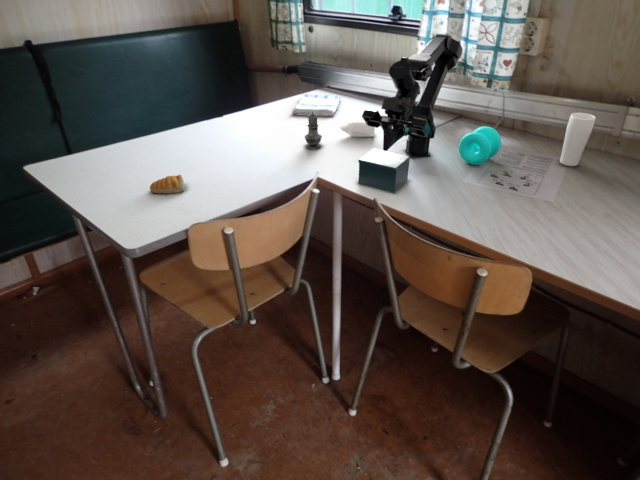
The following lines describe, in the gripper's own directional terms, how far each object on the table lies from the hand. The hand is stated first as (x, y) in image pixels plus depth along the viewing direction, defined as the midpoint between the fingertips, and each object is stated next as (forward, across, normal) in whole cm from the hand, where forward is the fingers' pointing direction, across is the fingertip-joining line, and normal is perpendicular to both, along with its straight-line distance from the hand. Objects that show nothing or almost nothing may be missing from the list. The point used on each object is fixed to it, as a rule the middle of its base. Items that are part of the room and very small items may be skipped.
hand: (384, 150), depth 127 cm
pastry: (+32, -50, -18) cm, 62 cm away
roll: (-14, -25, +28) cm, 40 cm away
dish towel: (-29, -55, +43) cm, 76 cm away
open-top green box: (+7, 0, +7) cm, 10 cm away
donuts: (-14, +18, +28) cm, 37 cm away
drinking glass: (-22, +43, +37) cm, 61 cm away
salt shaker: (-2, -32, +16) cm, 37 cm away
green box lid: (+2, 0, +2) cm, 3 cm away
